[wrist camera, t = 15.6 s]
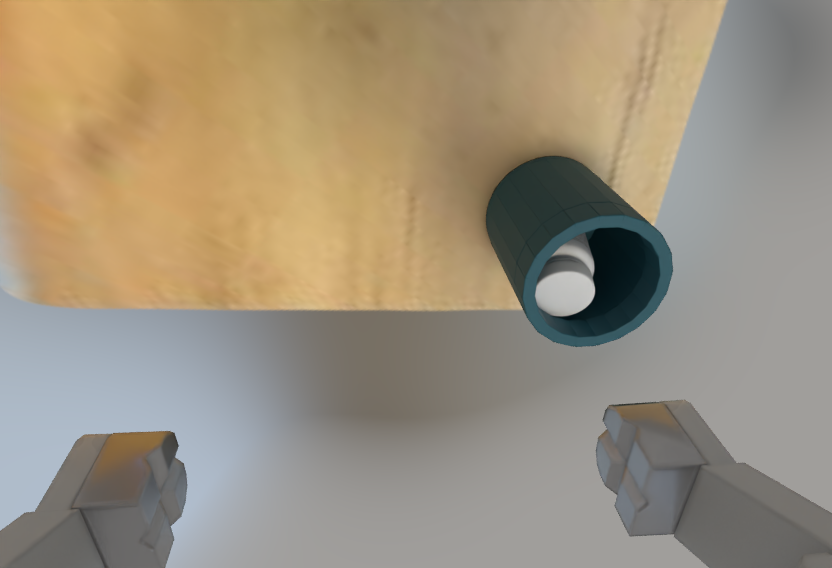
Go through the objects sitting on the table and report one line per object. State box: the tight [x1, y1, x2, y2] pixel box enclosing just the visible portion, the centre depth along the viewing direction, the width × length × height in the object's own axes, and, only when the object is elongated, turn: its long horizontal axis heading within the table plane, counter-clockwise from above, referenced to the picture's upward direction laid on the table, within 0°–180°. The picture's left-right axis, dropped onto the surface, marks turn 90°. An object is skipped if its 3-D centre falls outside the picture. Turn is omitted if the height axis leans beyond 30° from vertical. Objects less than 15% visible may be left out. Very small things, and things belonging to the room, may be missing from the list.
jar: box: [486, 156, 673, 347], centre depth 38 cm, size 9×9×11 cm
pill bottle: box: [535, 233, 595, 316], centre depth 39 cm, size 5×5×8 cm
